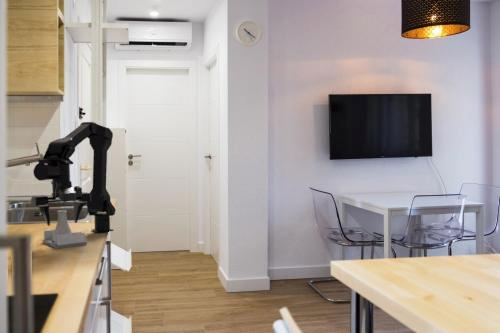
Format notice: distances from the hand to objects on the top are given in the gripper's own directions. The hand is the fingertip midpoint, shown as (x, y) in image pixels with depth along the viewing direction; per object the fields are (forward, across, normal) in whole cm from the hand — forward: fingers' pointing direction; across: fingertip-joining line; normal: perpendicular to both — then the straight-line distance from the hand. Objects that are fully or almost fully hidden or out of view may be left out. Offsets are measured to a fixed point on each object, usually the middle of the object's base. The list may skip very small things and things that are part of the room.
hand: (62, 224), depth 181 cm
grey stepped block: (+6, 0, -1) cm, 7 cm away
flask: (+6, 0, 0) cm, 6 cm away
